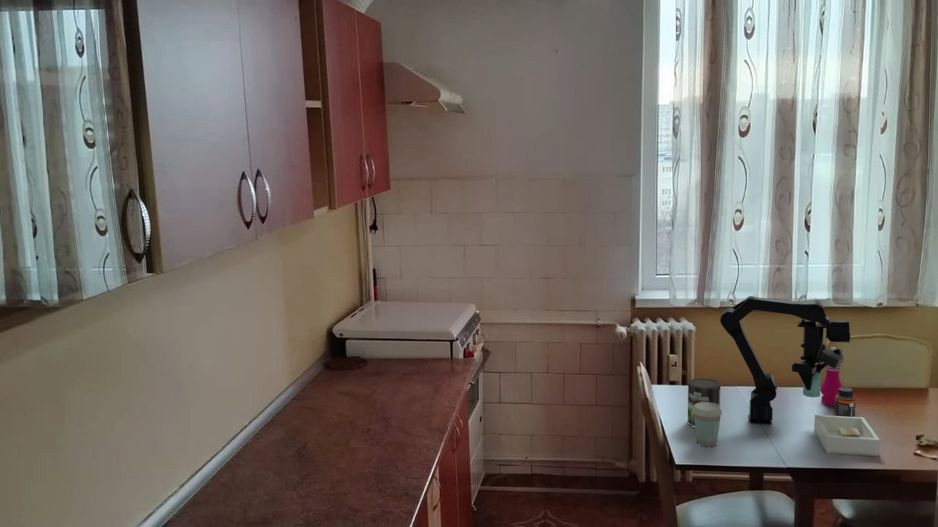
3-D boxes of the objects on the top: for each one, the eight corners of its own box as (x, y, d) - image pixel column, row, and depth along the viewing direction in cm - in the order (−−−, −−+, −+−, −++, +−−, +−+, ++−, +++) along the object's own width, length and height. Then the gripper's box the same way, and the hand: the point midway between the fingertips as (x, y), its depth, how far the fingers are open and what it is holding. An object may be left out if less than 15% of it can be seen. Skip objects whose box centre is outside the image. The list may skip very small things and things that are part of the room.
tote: (826, 453, 217) (827, 437, 216) (814, 429, 234) (814, 414, 233) (879, 456, 213) (879, 440, 212) (862, 432, 230) (863, 417, 230)
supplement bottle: (857, 426, 235) (858, 392, 234) (837, 425, 237) (838, 391, 235) (851, 419, 241) (852, 386, 239) (831, 418, 242) (833, 385, 241)
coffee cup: (717, 451, 221) (718, 412, 219) (688, 445, 226) (689, 408, 224) (724, 440, 228) (724, 403, 226) (696, 436, 233) (696, 399, 231)
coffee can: (711, 432, 235) (712, 390, 233) (681, 425, 242) (682, 384, 240) (725, 422, 243) (726, 381, 240) (696, 416, 250) (696, 376, 247)
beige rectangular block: (841, 449, 217) (842, 433, 217) (837, 443, 222) (838, 427, 221) (859, 450, 216) (860, 434, 215) (855, 444, 221) (856, 428, 220)
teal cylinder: (804, 396, 234) (805, 375, 233) (801, 391, 239) (802, 371, 238) (821, 397, 233) (822, 376, 232) (818, 392, 238) (819, 371, 237)
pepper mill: (843, 400, 258) (846, 345, 255) (841, 407, 252) (844, 350, 249) (821, 397, 262) (823, 343, 259) (818, 404, 256) (820, 348, 253)
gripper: (829, 351, 221) (827, 401, 224) (850, 338, 234) (848, 385, 237) (791, 345, 229) (790, 393, 231) (813, 333, 242) (812, 378, 245)
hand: (811, 387), depth 236 cm, fingers closed on teal cylinder, 5 cm apart
